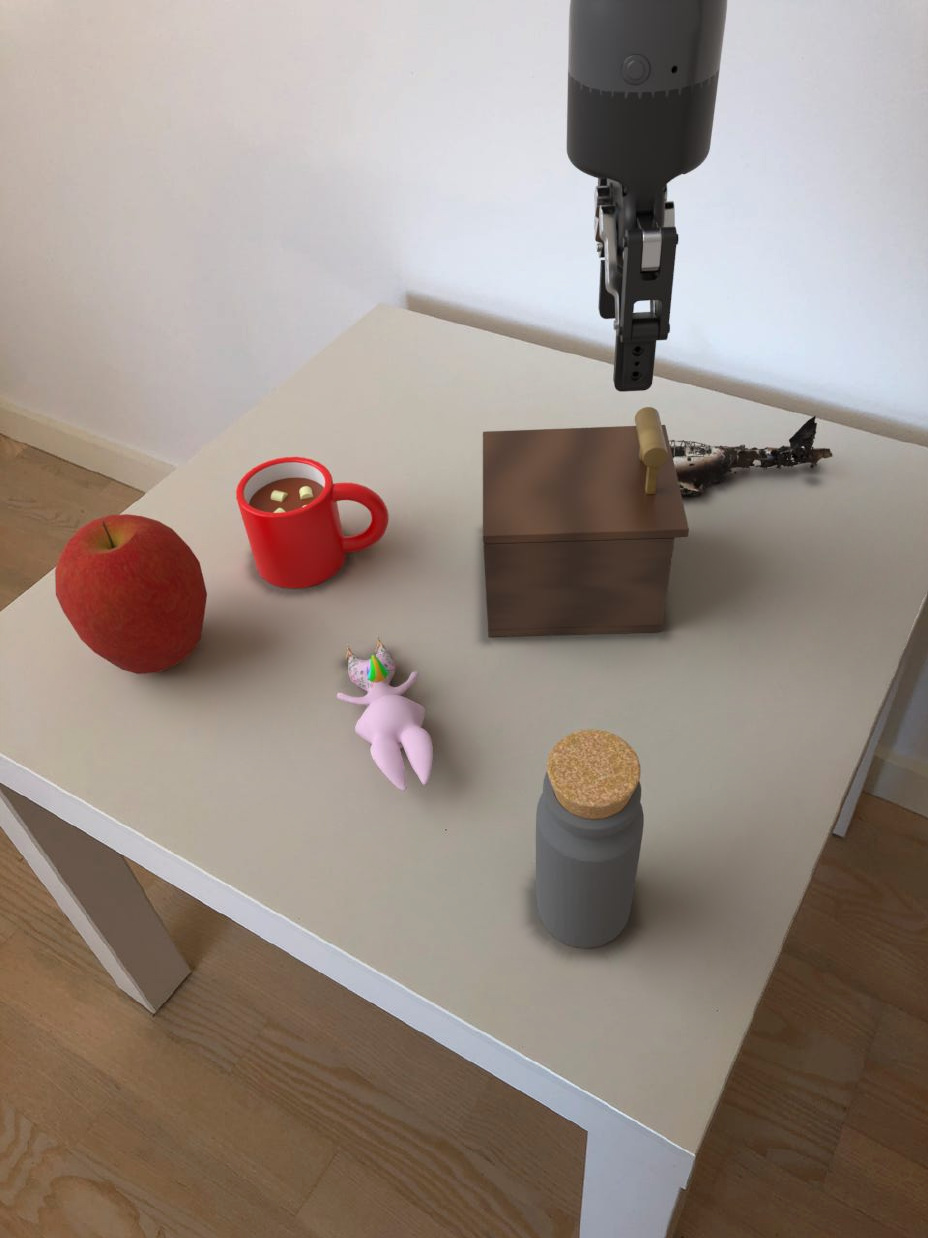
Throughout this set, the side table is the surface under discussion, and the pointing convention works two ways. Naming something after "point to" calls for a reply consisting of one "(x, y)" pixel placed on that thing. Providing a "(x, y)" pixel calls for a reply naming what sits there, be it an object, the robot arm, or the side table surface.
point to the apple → (132, 592)
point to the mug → (302, 520)
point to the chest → (577, 586)
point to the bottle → (588, 838)
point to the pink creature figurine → (389, 718)
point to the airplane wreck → (740, 458)
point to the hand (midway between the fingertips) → (623, 349)
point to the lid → (581, 484)
